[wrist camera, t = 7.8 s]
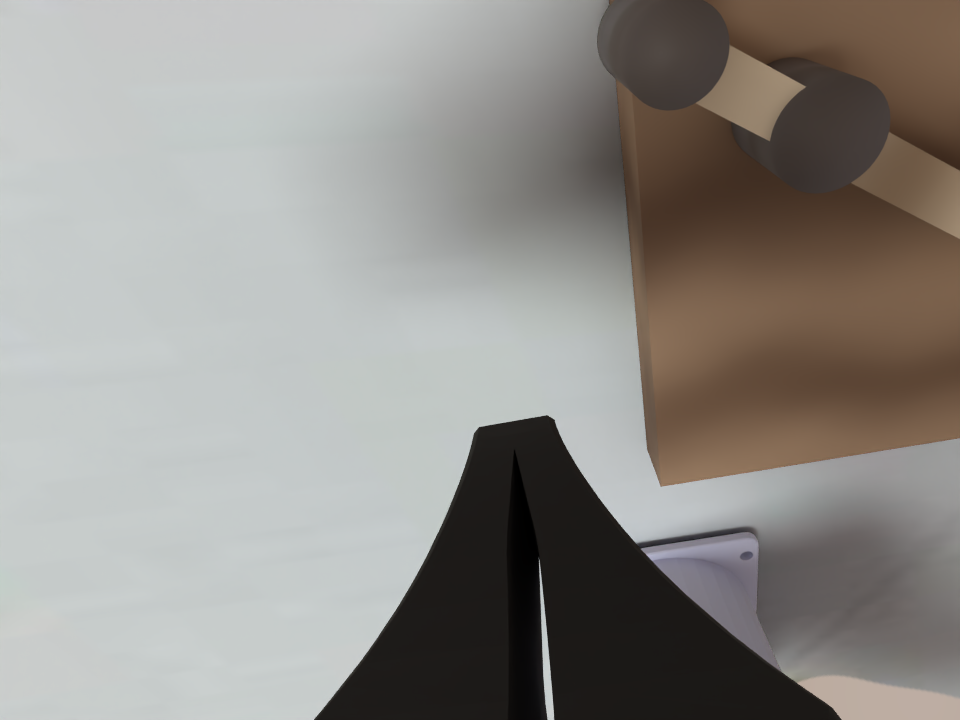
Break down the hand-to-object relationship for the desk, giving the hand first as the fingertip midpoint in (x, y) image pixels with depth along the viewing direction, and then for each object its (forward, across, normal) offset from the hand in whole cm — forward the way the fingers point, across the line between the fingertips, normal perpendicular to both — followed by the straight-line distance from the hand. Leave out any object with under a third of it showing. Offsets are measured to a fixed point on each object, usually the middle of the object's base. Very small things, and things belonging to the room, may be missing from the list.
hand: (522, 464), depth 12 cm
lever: (+8, -10, -2) cm, 12 cm away
